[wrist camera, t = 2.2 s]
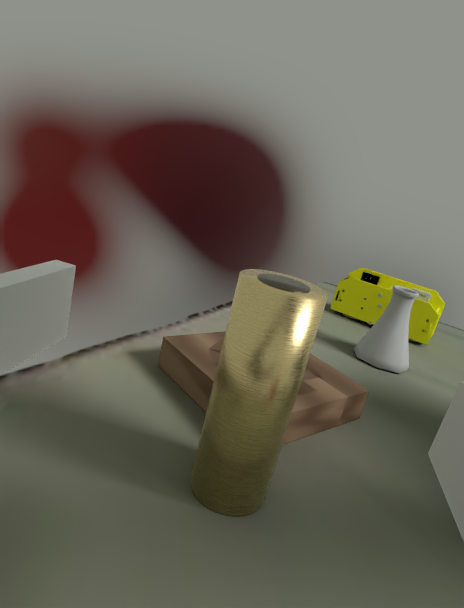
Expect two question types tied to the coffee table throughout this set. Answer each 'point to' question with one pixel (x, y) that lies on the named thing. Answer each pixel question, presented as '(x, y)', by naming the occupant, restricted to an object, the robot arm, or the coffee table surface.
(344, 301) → the yellow toy chassis
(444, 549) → the coffee table surface
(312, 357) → the jig plate
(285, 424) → the cylinder
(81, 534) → the coffee table surface
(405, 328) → the flask
